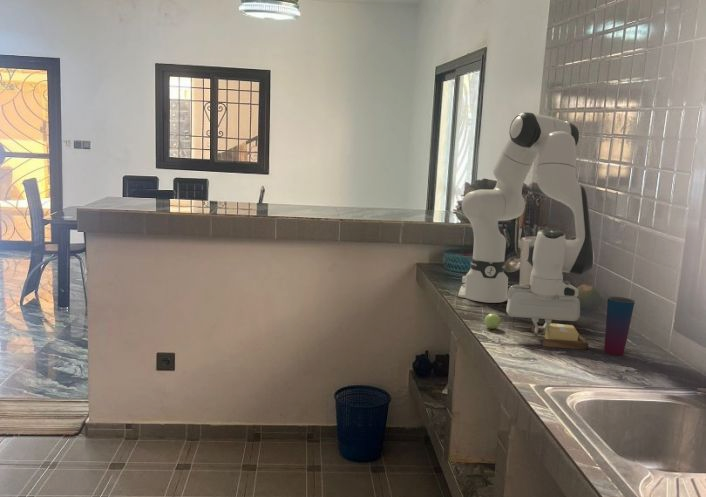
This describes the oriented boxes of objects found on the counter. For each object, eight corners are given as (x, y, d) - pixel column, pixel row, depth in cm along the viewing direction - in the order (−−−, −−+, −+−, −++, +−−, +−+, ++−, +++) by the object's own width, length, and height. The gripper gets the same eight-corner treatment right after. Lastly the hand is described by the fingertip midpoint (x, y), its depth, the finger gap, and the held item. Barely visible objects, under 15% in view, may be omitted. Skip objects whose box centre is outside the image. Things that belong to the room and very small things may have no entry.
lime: (482, 325, 195) (484, 311, 194) (497, 326, 195) (499, 312, 194) (485, 330, 190) (486, 315, 190) (500, 331, 190) (502, 316, 189)
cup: (629, 357, 173) (637, 303, 170) (603, 354, 174) (610, 301, 172) (624, 350, 180) (631, 297, 177) (598, 347, 181) (605, 295, 178)
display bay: (531, 331, 192) (531, 325, 192) (572, 333, 192) (573, 328, 192) (543, 346, 178) (544, 340, 178) (587, 349, 178) (588, 343, 178)
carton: (544, 337, 188) (546, 322, 187) (571, 339, 187) (573, 325, 186) (549, 345, 180) (550, 330, 179) (576, 348, 179) (578, 333, 178)
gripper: (510, 286, 180) (505, 333, 182) (584, 291, 179) (578, 338, 181) (506, 281, 186) (501, 327, 188) (577, 286, 185) (572, 332, 188)
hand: (540, 333), depth 185 cm, fingers closed
